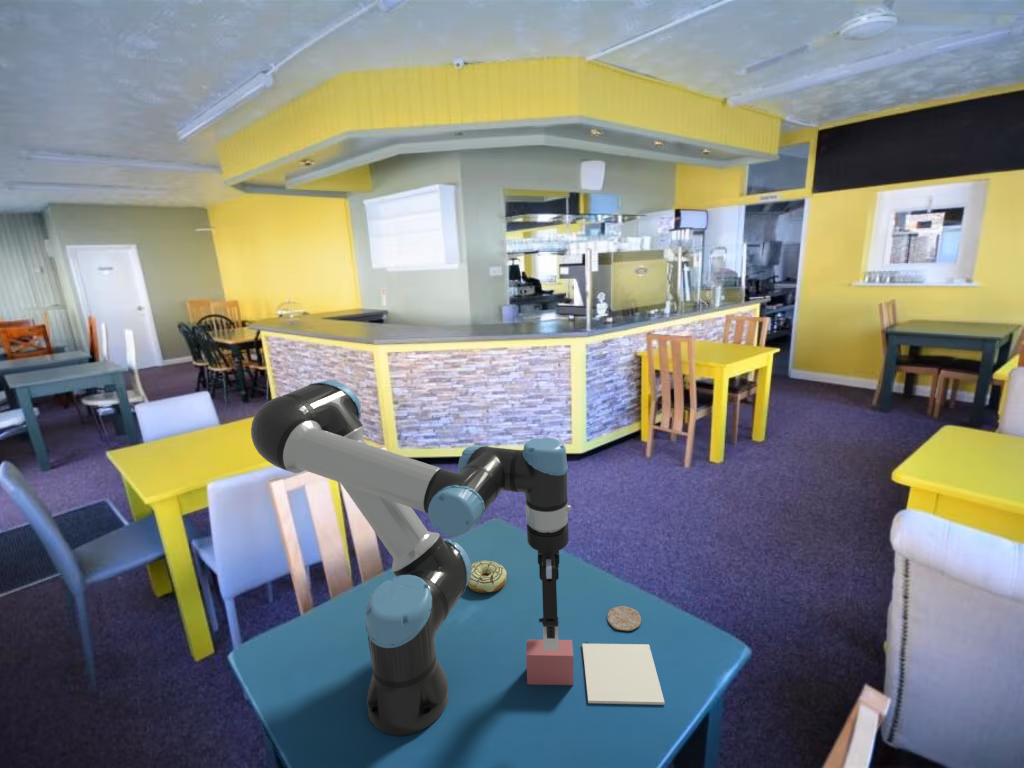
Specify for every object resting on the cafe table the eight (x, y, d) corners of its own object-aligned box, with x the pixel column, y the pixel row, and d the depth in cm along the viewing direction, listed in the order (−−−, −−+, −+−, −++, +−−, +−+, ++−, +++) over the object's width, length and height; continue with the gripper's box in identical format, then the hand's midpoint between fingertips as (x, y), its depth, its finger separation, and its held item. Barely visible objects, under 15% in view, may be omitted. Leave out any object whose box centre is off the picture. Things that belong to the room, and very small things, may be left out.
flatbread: (613, 604, 120) (613, 601, 119) (645, 614, 116) (645, 610, 116) (601, 626, 113) (602, 623, 113) (635, 637, 109) (635, 633, 109)
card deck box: (527, 684, 99) (526, 655, 97) (527, 668, 102) (526, 639, 101) (573, 685, 98) (573, 655, 96) (572, 668, 102) (572, 640, 100)
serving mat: (588, 703, 94) (588, 700, 94) (582, 645, 107) (582, 643, 107) (664, 704, 93) (664, 702, 93) (648, 646, 106) (649, 644, 106)
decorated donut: (495, 601, 122) (495, 587, 121) (457, 590, 127) (456, 577, 126) (513, 575, 132) (512, 563, 131) (476, 566, 136) (476, 554, 135)
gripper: (572, 564, 79) (574, 674, 84) (565, 490, 103) (567, 580, 108) (524, 564, 79) (529, 674, 85) (528, 491, 103) (532, 580, 109)
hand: (550, 621), depth 97 cm, fingers open, 13 cm apart
